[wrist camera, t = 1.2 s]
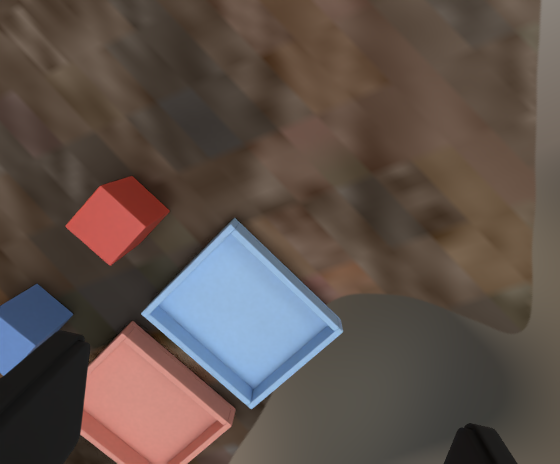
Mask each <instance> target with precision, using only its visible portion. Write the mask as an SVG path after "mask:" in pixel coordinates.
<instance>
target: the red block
mask: <svg viewBox="0 0 560 464" xmlns="http://www.w3.org/2000/svg"><path fill="white" fill-rule="evenodd" d="M169 212H170V211H169V210H168V209H167V208H166V207H165V206H164V205H163V204H162V203H161V202H160V201H159V200H158V199H156V198H155V197H154V196H153V195H152V194H151V193H150V192H149V191H148V190H147V189H146V188H145V187H144V186H142V185H141V184H140V183H139V182H138V181H137V180H136V179H135V178H134V177H133V176H130V177H127V178H124V179H120V180H117V181H114V182H111V183H107V184H104V185H101V186H99V188H98V189H97V190H96V191H95V192H94V193H93V195H92V196H91V197H90V198H89V199H88V200H87V201H86V203H85V204H84V205H83V206H82V207H81V208H80V210H79V211H78V212H77V213H76V214H75V215H74V217H73V218H72V219H71V220H70V221H69V222H68V223H67V225H66V226H65V227H66V228H67V229H69V230H70V231H71V232H72V233H73V234H74V235H75V236H77V237H78V238H79V239H80V240H81V241H82V242H83V243H85V244H86V245H87V246H88V247H89V248H90V249H91V250H93V251H94V252H95V253H96V254H97V255H98V256H100V257H101V258H102V259H103V260H104V261H105V262H106V263H108V264H109V265H112V264H113V263H115V262H116V261H117V260H119V259H120V258H121V257H123V256H124V255H125V254H127V253H128V252H129V251H131V250H132V249H134V248H135V247H136V246H138V245H139V244H140V243H141V242H142V241H143V240H144V239H145V238H146V236H147V235H148V234H149V233H150V232H151V231H152V230H153V229H154V228H155V227H156V226H157V225H158V224H159V223H160V222H161V220H162V219H163V218H164V217H165V216H166V215H167V214H168V213H169Z"/></svg>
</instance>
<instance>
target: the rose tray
mask: <svg viewBox="0 0 560 464" xmlns="http://www.w3.org/2000/svg"><path fill="white" fill-rule="evenodd" d="M234 414H235V408H234V407H233V406H232V405H231V404H229V403H228V402H227V401H226V400H225V399H224V398H222V397H221V396H220V395H219V394H218V393H217V392H215V391H214V390H213V389H212V388H211V387H210V386H208V385H207V384H206V383H205V382H204V381H203V380H201V379H200V378H199V377H198V376H197V375H196V374H194V373H193V372H192V371H191V370H190V369H189V368H187V367H186V366H185V365H184V364H183V363H182V362H180V361H179V360H178V359H177V358H176V357H175V356H173V355H172V354H171V353H170V352H169V351H168V350H166V349H165V348H164V347H163V346H162V345H161V344H159V343H158V342H157V341H156V340H155V339H154V338H152V337H151V336H150V335H149V334H148V333H147V332H145V331H144V330H143V329H142V328H141V327H140V326H138V325H137V324H136V323H135V322H134V321H131V322H130V323H129V324H128V326H127V327H126V328H125V329H124V330H123V331H122V332H121V333H120V334H119V335H118V336H117V337H116V338H115V339H114V340H113V341H112V342H111V343H110V344H109V345H108V346H107V347H106V348H105V349H104V350H103V351H102V352H101V353H100V354H99V355H98V356H97V357H96V358H95V359H94V360H93V361H92V362H91V363H90V364H89V365H88V371H87V380H86V389H85V398H84V407H83V416H82V425H81V433H80V434H81V435H82V436H83V437H84V438H86V439H87V440H88V441H90V442H91V443H92V444H93V445H95V446H96V447H97V448H98V449H100V450H101V451H102V452H104V453H105V454H106V455H107V456H109V457H110V458H111V459H113V460H114V461H115V462H116V463H118V464H187V463H188V462H190V461H191V460H192V459H193V458H194V457H196V456H197V455H198V454H199V453H200V452H201V451H203V450H204V449H205V448H206V447H207V446H209V445H210V444H211V443H212V442H213V441H214V440H216V439H217V438H218V437H219V436H220V435H222V434H223V433H224V432H225V431H226V430H228V429H229V428H230V427H231V426H232V423H233V418H234Z"/></svg>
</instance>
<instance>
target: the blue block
mask: <svg viewBox="0 0 560 464" xmlns="http://www.w3.org/2000/svg"><path fill="white" fill-rule="evenodd" d="M72 316H73V313H71V312H70V311H69V310H68V309H67V308H66V307H64V306H63V305H62V304H61V303H60V302H58V301H57V300H56V299H55V298H54V297H52V296H51V295H50V294H49V293H48V292H46V291H45V290H44V289H43V288H42V287H40V286H39V285H38V284H36V285H34V286H32V287H31V288H29V289H27V290H26V291H24V292H22V293H21V294H19V295H17V296H16V297H14V298H13V299H11V300H9V301H8V302H6V303H4V304H3V305H1V306H0V373H1V374H2V375H3V376H4V375H5V374H7V373H8V372H9V371H10V370H11V369H12V368H14V367H15V366H16V365H17V364H18V363H20V362H21V361H22V360H23V359H24V358H26V357H27V356H28V355H29V354H30V353H32V352H33V351H34V350H35V349H36V348H37V347H39V346H40V345H41V344H42V343H43V342H45V341H46V340H47V339H48V338H49V337H51V336H52V335H53V334H54V333H55V332H57V331H58V330H59V329H60V328H61V327H62V326H63V325H64V324H65V323H66V322H67V321H68V320H69V319H70V318H71V317H72Z"/></svg>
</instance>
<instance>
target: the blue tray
mask: <svg viewBox="0 0 560 464" xmlns="http://www.w3.org/2000/svg"><path fill="white" fill-rule="evenodd" d="M141 314H142V315H143V316H144V317H145V318H146V319H147V320H149V321H150V322H151V323H152V324H153V325H154V326H155V327H157V328H158V329H159V330H160V331H161V332H162V333H164V334H165V335H166V336H167V337H168V338H169V339H171V340H172V341H173V342H174V343H175V344H176V345H177V346H179V347H180V348H181V349H182V350H183V351H184V352H186V353H187V354H188V355H189V356H190V357H191V358H192V359H194V360H195V361H196V362H197V363H198V364H199V365H201V366H202V367H203V368H204V369H205V370H206V371H208V372H209V373H210V374H211V375H212V376H213V377H214V378H216V379H217V380H218V381H219V382H220V383H221V384H223V385H224V386H225V387H226V388H227V389H228V390H230V391H231V392H232V393H233V394H234V395H235V396H236V397H238V398H239V399H240V400H241V401H242V402H243V403H245V404H246V405H247V406H248V407H249V408H250V409H252V408H254V407H255V406H256V405H257V404H258V403H260V402H261V401H262V400H263V399H264V398H265V397H267V396H268V395H269V394H270V393H271V392H273V391H274V390H275V389H276V388H277V387H279V386H280V385H281V384H282V383H283V382H284V381H286V380H287V379H288V378H289V377H290V376H292V374H294V373H295V372H296V371H297V370H299V369H300V368H301V367H302V366H303V365H305V364H306V363H307V362H308V361H309V360H311V359H312V358H313V357H314V356H315V355H316V354H318V352H320V351H321V350H322V349H324V348H325V347H326V346H327V345H328V344H329V343H331V342H332V341H333V340H334V339H335V338H337V337H338V336H339V335H340V334H341V333H342V332H343V328H342V323H341V319H340V318H339V317H338V316H337V315H336V314H335V313H334V312H333V311H332V310H331V309H330V308H328V307H327V306H326V305H325V304H324V303H323V302H322V301H321V300H320V299H319V298H318V297H317V296H316V295H315V294H314V293H313V292H312V291H311V290H310V289H309V288H308V287H307V286H306V285H304V284H303V283H302V282H301V281H300V280H299V279H298V278H297V277H296V276H295V275H294V274H293V273H292V272H291V271H290V270H289V269H288V268H287V267H286V266H285V265H284V264H283V263H282V262H280V261H279V260H278V259H277V258H276V257H275V256H274V255H273V254H272V253H271V252H270V251H269V250H268V249H267V248H266V247H265V246H264V245H263V244H262V243H261V242H260V241H259V240H257V239H256V238H255V237H254V236H253V235H252V234H251V233H250V232H249V231H248V230H247V229H246V228H245V227H244V226H243V225H242V224H241V223H240V222H239V221H238V220H237V219H236V218H234V219H233V220H232V221H231V222H230V223H229V224H228V225H227V226H226V227H225V228H224V229H223V230H222V231H221V232H220V233H219V234H218V235H217V236H216V237H215V238H214V239H213V240H212V241H211V242H210V243H209V244H208V245H207V246H206V247H205V248H204V249H203V250H202V251H201V252H200V253H199V254H198V255H197V256H196V257H195V258H194V259H193V260H192V261H191V262H190V263H189V264H188V265H187V266H186V267H185V268H184V269H183V270H182V271H181V272H180V273H179V274H178V275H177V276H176V277H175V278H174V279H173V280H172V281H171V282H170V283H169V284H168V285H167V286H166V287H165V288H164V289H163V290H162V291H161V292H160V293H159V294H158V295H157V296H156V297H155V298H154V299H153V300H152V301H151V302H150V304H149V305H148V306H147V307H146V308H145V309H144V311H143V312H142V313H141Z"/></svg>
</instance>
